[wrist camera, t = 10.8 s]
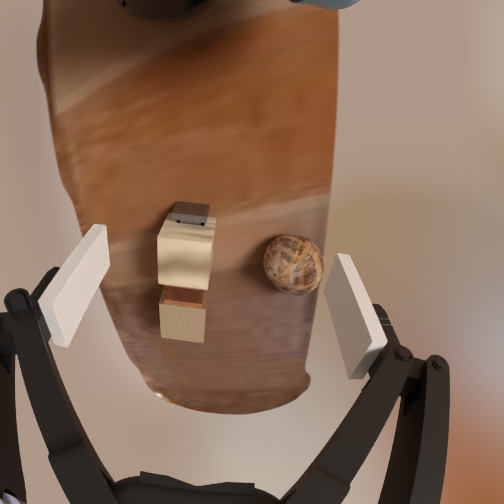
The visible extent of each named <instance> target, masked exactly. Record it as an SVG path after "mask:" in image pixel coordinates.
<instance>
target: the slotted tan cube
mask: <svg viewBox="0 0 504 504" xmlns="http://www.w3.org/2000/svg"><path fill="white" fill-rule="evenodd" d="M215 226H216V218H212V217H208V218H207V222H206V223H205V226H200V225H192V224H183V223H178V220H174V219H171V213H169V214H168V216H167V218H166V220H165V222H164V224H163V226H162V228H161V230H160V232H159V235H158V237H157V247H158V284H164V286H171V287H179V288H187V289H195V290H203V289H204V290H208V283H209V277H210V270H211V263H212V255H213V245H214V235H215Z"/></svg>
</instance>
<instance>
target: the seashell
mask: <svg viewBox="0 0 504 504" xmlns="http://www.w3.org/2000/svg"><path fill="white" fill-rule="evenodd" d="M263 266H264V270H265V273H266V275H267V277H268V278H269V279H270V280H271V281H272V282H273V283H274V285H275V286H276V287H277V288H278V289H279V290H281V291H282V292H284V293H286V294H288V295H294V296H296V295H305V294H307V293H309V292H311V291H313V290H314V289H315V288H316V287H317V286H318V285H319V283H320V281H321V279H322V276H323V272H324V262H323V257H322V254H321V252H320V250H319V249H318V247H317V246H316V245H315V244H314V243H313V242H312V241H310V239H308V238H304V237H301V236H296V235H282V236H280V237H277V238H276V239H274V240H273V241H272V242H271V243H270V244H269V245H268V247H267V248H266V250H265V253H264V259H263Z"/></svg>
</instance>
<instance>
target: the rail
mask: <svg viewBox="0 0 504 504" xmlns="http://www.w3.org/2000/svg"><path fill="white" fill-rule="evenodd" d="M209 207H210V205H205V204H197V203H188V202H178V201H177V202H176V204H175V206H174V209H173V211H172V213H171V219H174V220H180V223H183V224H192V225H200V226H201V223H206V222H207V218H208V213H209ZM209 286H210V280H209V283H208V290H204V289H203V290H195V289H187V288H179V287H171V286H164V289H163V292H162V296H161V299H160V302H159V311H160V327H161V337H162V338H169V339H177V340H184V341H192V342H200V343H204V334H205V326H206V318H207V309H208V297H209Z"/></svg>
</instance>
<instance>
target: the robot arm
mask: <svg viewBox="0 0 504 504" xmlns="http://www.w3.org/2000/svg"><path fill="white" fill-rule="evenodd" d="M118 1H119V3H120V4H121V5H122V6H123V7H124V8H125V9H126V10H127V11H128V12H130V13H131V14H133V15H135V16H137V17H139V18H142V19H144V20H148V21H153V22H172V21H178V20H182V19H185V18H188V17H190V16H193V15H195V14H197V13H199V12H200V11H202V10H204V9H205V8H207V7H208V6H209V5H210V4H211V3H213V2H214V1H215V0H118ZM289 1H290V2H293V3H296V4H298V3H299V4H309V5H313V6H317V7H321V8H325V9H330V10H331V9H335V10H338V9H344V8H347V7H349V6H351V5H354V4H355V3H357V2H358V1H360V0H289ZM109 267H110V260H109V251H108V241H107V231H106V225H99V224H94V225H93V226H92V227H91V229H90V230H89V231H88V232H87V234H86V235H85V236H84V237H83V239H82V240H81V241H80V243H79V244H78V245H77V246H76V248H75V249H74V250H73V252H72V253H71V254H70V256H69V257H68V258H67V260H66V261H65V263H64V264H63V265H62V267H61V268H59V267H54V268H52V269H51V270H49V271H48V272H47V273H46V275H45V276H44V277H43V278H42V280H41V281H40V283H39V285H37V287H36V288H35V290H34V291H33V293H32V294H31V295H29V293H28V291H27V290H25V289H22V288H18V289H14V290H12V291H10V292H9V293H8V294H7V295H6V296H5V298H4V304H5V306H6V309H7V311H8V312H2V313H0V504H27V501H26V489H25V482H24V477H23V471H22V465H21V458H20V452H19V443H18V434H17V423H16V406H15V354H17V355H18V360H19V364H20V368H21V372H22V376H23V379H24V383H25V386H26V390H27V393H28V396H29V399H30V402H31V406H32V409H33V412H34V414H35V417H36V420H37V423H38V426H39V428H40V431H41V433H42V436H43V439H44V441H45V443H46V446H47V448H48V451H49V455H48V458H49V462H50V464H51V466H52V469H53V471H54V473H55V475H56V477H57V479H58V481H59V483H60V485H61V487H62V489H63V491H64V493H65V495H66V497H67V498H68V500H69V502H70V504H341V503H342V501H343V500H344V498H345V497H346V495H347V494H348V492H349V490H350V483H351V481H352V480H353V478H354V477H355V475H356V474H357V472H358V470H359V469H360V467H361V465H362V464H363V462H364V461H365V459H366V457H367V455H368V454H369V452H370V450H371V448H372V447H373V445H374V443H375V441H376V440H377V437H378V436H379V434H380V432H381V430H382V428H383V427H384V425H385V423H386V421H387V419H388V417H389V415H390V413H391V411H392V409H393V407H394V405H395V403H396V401H397V399H398V396H401V402H400V409H399V415H398V420H397V426H396V431H395V436H394V442H393V446H392V451H391V456H390V460H389V464H388V468H387V472H386V476H385V480H384V484H383V487H382V491H381V494H380V498H379V501H378V504H440V500H441V494H442V487H443V480H444V474H445V465H446V456H447V446H448V432H449V409H450V378H449V377H450V375H449V365H448V363H447V361H446V360H445V359H444V358H442V357H441V356H439V355H431V356H430V357H429V358H428V359H427V360H426V361H425V360H421V359H418V358H414V357H413V354H412V353H411V351H410V350H409V349H407V348H406V347H404V346H402V345H400V343H399V340H398V338H397V336H396V334H395V332H394V329H393V327H392V326H391V323H390V320H388V316H387V314H386V312H385V310H384V309H383V308H382V307H381V306H380V305H379V304H372V303H371V301H370V299H369V296H368V295H367V292H366V290H365V288H364V285H363V283H362V281H361V279H360V277H359V275H358V272H357V270H356V268H355V266H354V264H353V262H352V260H351V258H350V256H349V255H347V254H339V253H337V255H336V258H335V261H334V263H333V266H332V269H331V272H330V275H329V278H328V280H327V283H326V286H325V289H324V293H325V296H326V300H327V303H328V306H329V310H330V313H331V317H332V320H333V324H334V327H335V330H336V334H337V338H338V341H339V345H340V349H341V352H342V356H343V360H344V363H345V367H346V370H347V375H348V378H349V379H363V378H364V377H365V375H366V374H367V372H368V373H369V376H370V379H369V380H368V382H367V383H366V385H365V386H364V388H363V389H362V390H361V391H362V392H361V393H360V395H359V396H358V398H357V400H356V401H355V403H354V404H353V406H352V407H351V409H350V410H349V412H348V413H347V415H346V416H345V418H344V419H343V421H342V422H341V424H340V425H339V427H338V428H337V430H336V431H335V432H334V434H333V435H332V437H331V438H330V439H329V441H328V442H327V444H326V445H325V446H324V448H323V449H322V450H321V452H320V453H319V454H318V456H317V457H316V458H315V460H314V461H313V462H312V463H311V465H310V466H309V467H308V469H307V470H306V471H305V472H304V474H303V475H302V476H301V477H300V478H299V480H298V481H297V482H296V483H295V484H294V485H293V486H292V487H291V489H290V490H289V491H288V492H287V493H286V494H285V495H284V496H283V497H282V498H281V499H280V500H279V499H278V498H276V497H275V496H273V495H271V494H269V493H267V492H265V491H263V490H260V489H256V488H254V483H236V482H224V483H218V484H210V485H203V486H194V485H191V484H189V483H186V482H183V481H180V480H177V479H175V478H172V477H170V476H166V475H159V474H153V473H148V472H143V471H141V472H140V476H134V477H128V478H125V479H122V480H119V481H117V482H114V480H113V479H112V477H111V476H110V474H109V473H108V471H107V470H106V468H105V467H104V465H103V464H102V462H101V460H100V459H99V457H98V455H97V453H96V452H95V450H94V448H93V446H92V444H91V442H90V440H89V438H88V436H87V435H86V432H85V431H84V428H83V426H82V425H81V422H80V420H79V418H78V416H77V414H76V412H75V410H74V407H73V405H72V403H71V401H70V398H69V396H68V394H67V391H66V389H65V386H64V384H63V381H62V379H61V377H60V374H59V371H58V369H57V366H56V363H55V360H54V358H53V355H52V352H51V349H50V346H49V344H48V341H49V339H50V337H52V340H53V342H54V344H55V345H59V346H63V347H66V348H68V346H69V344H70V342H71V340H72V338H73V335H74V334H75V331H76V329H77V327H78V325H79V323H80V321H81V319H82V317H83V315H84V313H85V311H86V309H87V307H88V305H89V303H90V301H91V299H92V298H93V295H94V294H95V292H96V290H97V288H98V286H99V285H100V283H101V281H102V279H103V277H104V275H105V274H106V272H107V270H108V268H109Z"/></svg>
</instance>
